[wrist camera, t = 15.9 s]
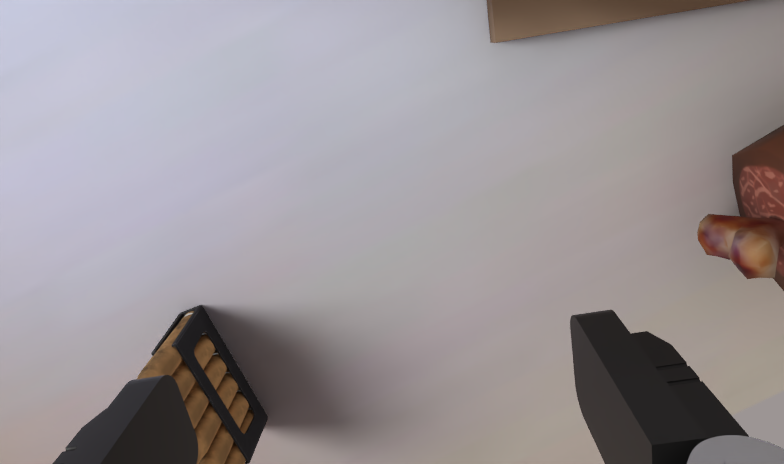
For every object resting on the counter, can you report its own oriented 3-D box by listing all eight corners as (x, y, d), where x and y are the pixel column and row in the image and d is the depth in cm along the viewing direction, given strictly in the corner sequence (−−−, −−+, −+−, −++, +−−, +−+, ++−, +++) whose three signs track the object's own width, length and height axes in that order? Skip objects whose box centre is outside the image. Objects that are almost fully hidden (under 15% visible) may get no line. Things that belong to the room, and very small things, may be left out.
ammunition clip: (268, 418, 43) (219, 553, 32) (247, 425, 43) (192, 562, 32) (201, 304, 40) (120, 409, 29) (179, 312, 40) (90, 420, 29)
